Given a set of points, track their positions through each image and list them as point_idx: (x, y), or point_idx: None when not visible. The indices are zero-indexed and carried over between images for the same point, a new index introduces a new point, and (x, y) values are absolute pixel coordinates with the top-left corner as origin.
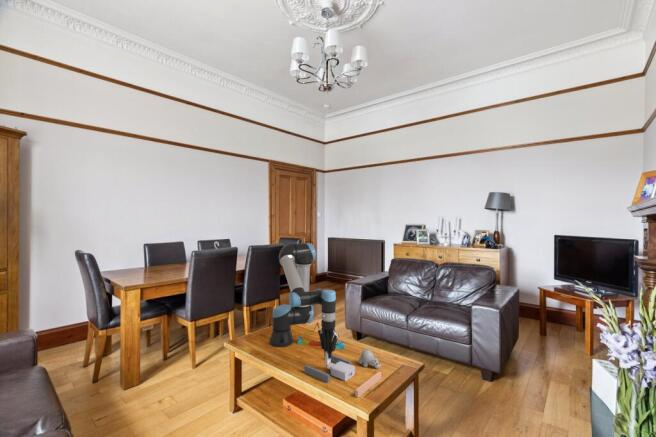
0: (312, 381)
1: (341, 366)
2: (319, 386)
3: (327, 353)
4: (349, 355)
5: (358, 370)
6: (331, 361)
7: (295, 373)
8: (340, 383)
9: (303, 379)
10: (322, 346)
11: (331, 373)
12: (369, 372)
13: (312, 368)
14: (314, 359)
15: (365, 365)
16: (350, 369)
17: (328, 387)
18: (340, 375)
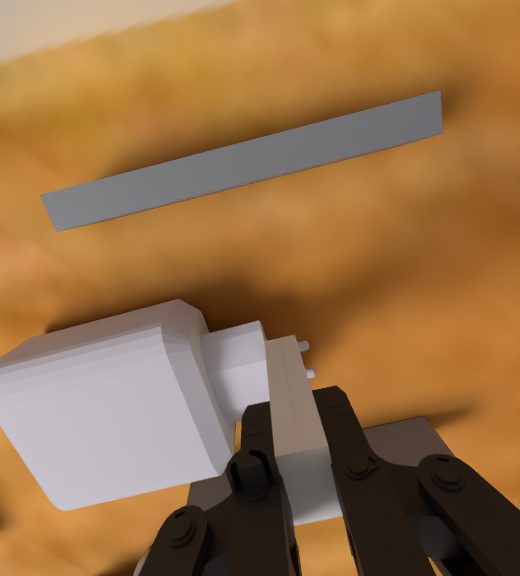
0: (190, 74)
1: (107, 421)
2: (65, 76)
3: (274, 444)
4: (351, 564)
5: (138, 496)
6: (369, 431)
7: (451, 6)
8: (27, 284)
9: (284, 6)
10: (466, 521)
11: (170, 304)
12: (76, 530)
13: (307, 145)
14: (509, 348)
15: (138, 565)
16: (31, 454)
17: (8, 147)
18: (60, 337)
